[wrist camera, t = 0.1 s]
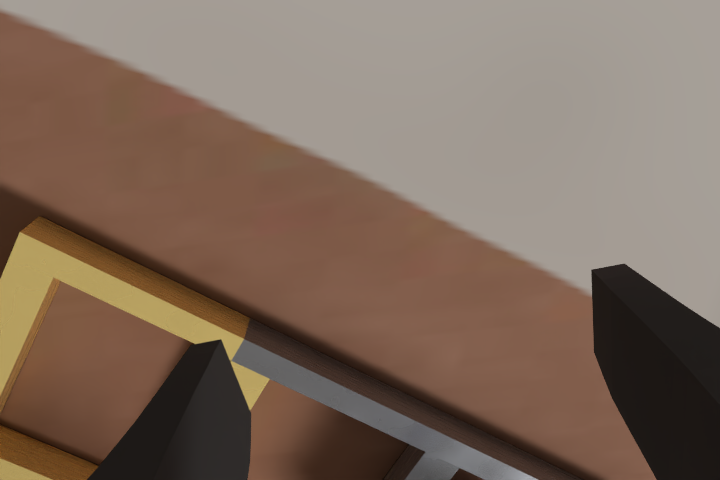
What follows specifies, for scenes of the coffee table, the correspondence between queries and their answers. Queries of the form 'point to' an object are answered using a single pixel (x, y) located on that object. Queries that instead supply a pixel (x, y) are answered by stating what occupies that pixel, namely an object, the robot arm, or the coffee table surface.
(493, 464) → the yellow grey ladder frame
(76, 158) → the coffee table surface
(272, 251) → the coffee table surface
